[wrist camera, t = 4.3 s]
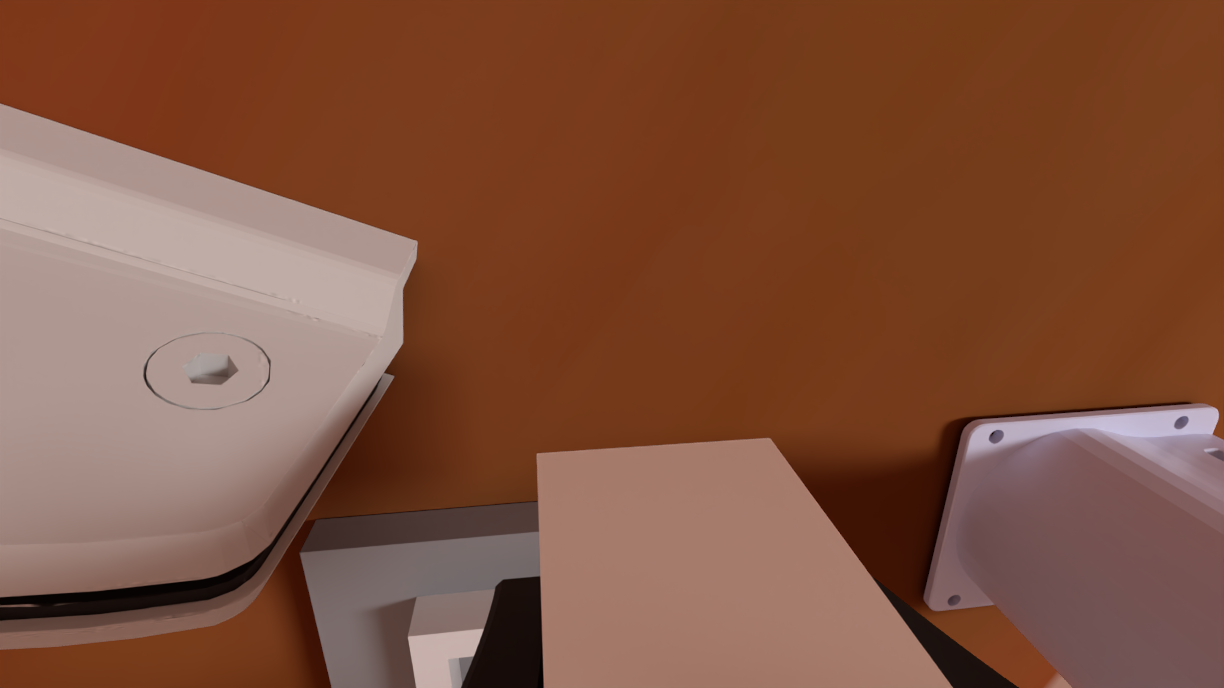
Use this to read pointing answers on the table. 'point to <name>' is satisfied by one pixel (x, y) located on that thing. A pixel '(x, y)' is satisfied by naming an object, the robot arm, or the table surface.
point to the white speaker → (169, 381)
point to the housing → (413, 589)
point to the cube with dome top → (707, 577)
